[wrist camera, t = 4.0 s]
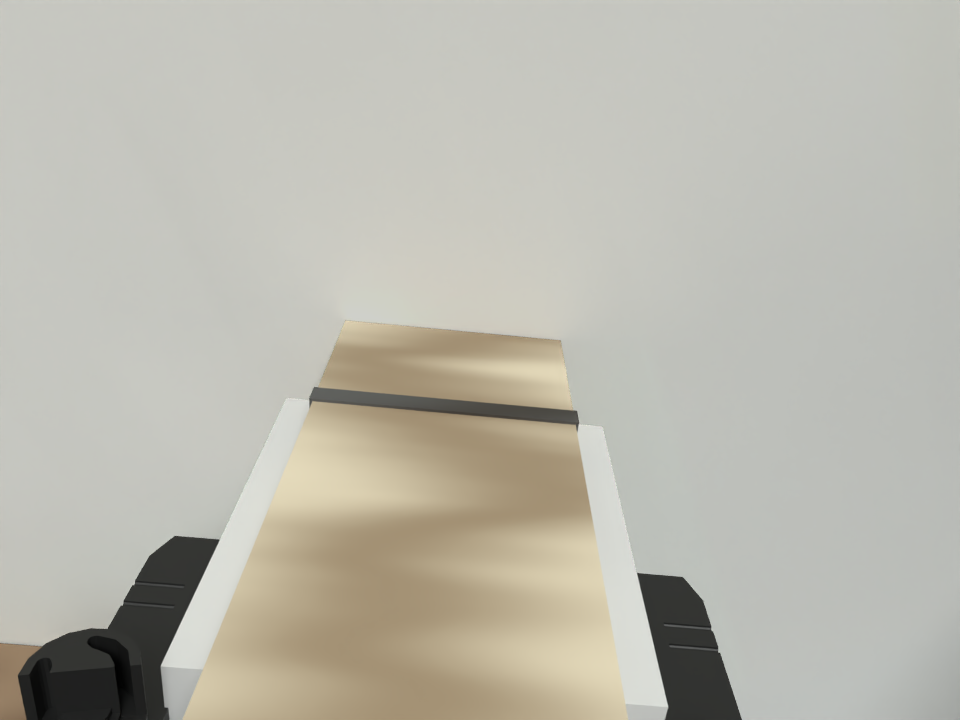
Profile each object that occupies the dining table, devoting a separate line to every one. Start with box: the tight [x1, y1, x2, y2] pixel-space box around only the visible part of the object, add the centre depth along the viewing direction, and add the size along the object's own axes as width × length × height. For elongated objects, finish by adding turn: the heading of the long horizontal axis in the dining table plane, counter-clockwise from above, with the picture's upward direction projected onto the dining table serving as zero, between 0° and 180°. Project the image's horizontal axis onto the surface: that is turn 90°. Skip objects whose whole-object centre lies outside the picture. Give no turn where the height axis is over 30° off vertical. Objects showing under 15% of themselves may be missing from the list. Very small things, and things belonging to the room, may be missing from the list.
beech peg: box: [182, 321, 628, 720], centre depth 12 cm, size 4×4×12 cm
